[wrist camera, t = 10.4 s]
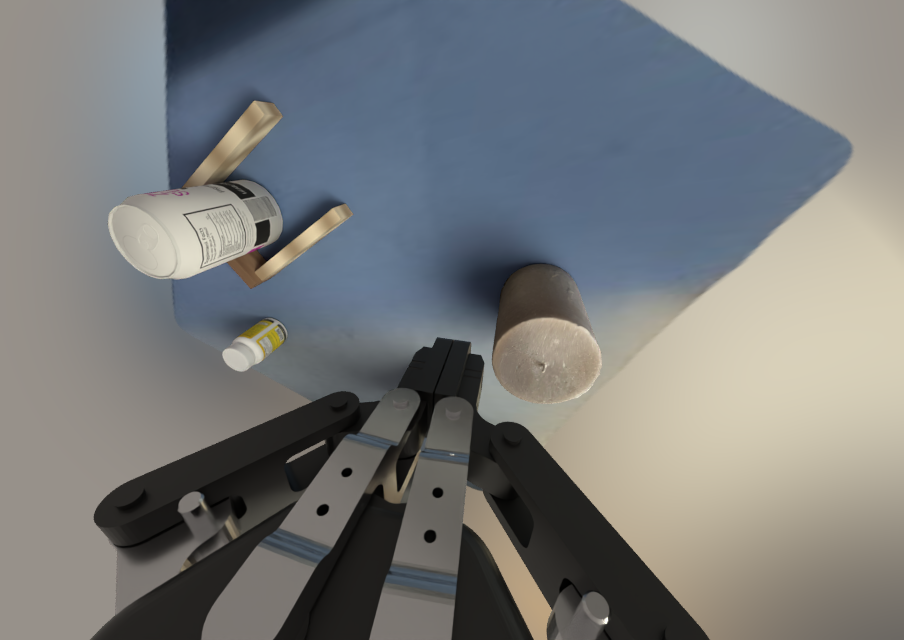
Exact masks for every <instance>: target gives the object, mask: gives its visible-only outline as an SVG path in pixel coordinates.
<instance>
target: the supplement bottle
mask: <svg viewBox="0 0 904 640" xmlns="http://www.w3.org/2000/svg"><path fill="white" fill-rule="evenodd" d="M286 339H287V330H286V328H285V327H284V325H283V324H282V323H280V322H279V321H277V320H275V319H273V318H265V319H263V320H261V321H260V322H258V323H257V324H256V325H254V326H253V327H251V328H250V329H248V330H247V331H245V332H244V333H243V334H241V335H240V336H238V337H237V338H235V339H234V341H233V342H232V345H230V346H229V347H228V348H226V349H225V350H224V351H223V354H222V356H223V359H224V361H225V362H226V364H227V365H228V366H229V367H231V368H232V369H234V370H236V371H240V372H243V371H246V370H247V369H249V368H250V367H252V366H253V365H254V364H258V363H260V362H261V361H262V360H264V359H265V358H266V357H267V356H268V355H270V354H271V353H272V352H273V351H274V350H275V349H277V348H278V347H279V346H280V345H281V344H283V343H284V342H285V341H286Z"/></svg>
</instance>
